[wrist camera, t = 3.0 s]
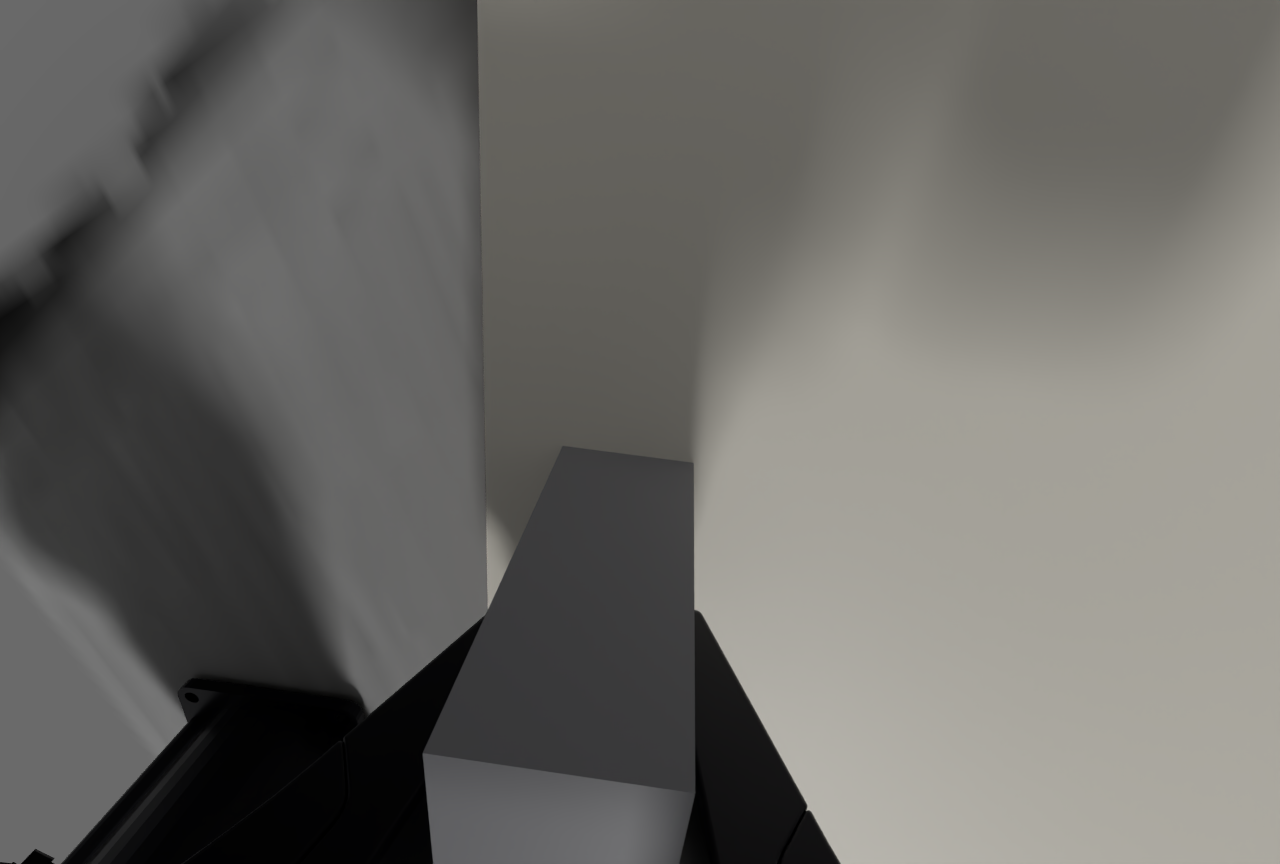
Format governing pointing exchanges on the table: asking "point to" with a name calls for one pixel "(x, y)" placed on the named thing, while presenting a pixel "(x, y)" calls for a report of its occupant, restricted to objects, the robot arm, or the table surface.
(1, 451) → the table surface
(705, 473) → the carton lid
